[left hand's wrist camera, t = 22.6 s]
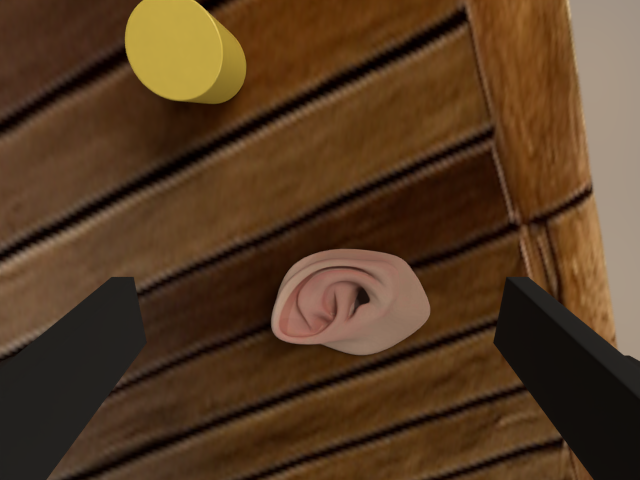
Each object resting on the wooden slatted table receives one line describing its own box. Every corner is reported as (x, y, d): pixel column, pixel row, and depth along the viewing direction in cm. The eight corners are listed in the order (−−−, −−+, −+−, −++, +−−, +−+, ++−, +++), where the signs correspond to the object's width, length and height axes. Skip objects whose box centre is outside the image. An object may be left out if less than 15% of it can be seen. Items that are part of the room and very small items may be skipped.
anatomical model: (467, 316, 29) (377, 408, 32) (450, 293, 33) (371, 377, 36) (335, 223, 26) (250, 333, 29) (333, 209, 30) (258, 308, 33)
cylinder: (251, 100, 27) (229, 96, 21) (181, 106, 27) (137, 104, 21) (240, 20, 26) (213, -13, 19) (165, 26, 26) (112, -4, 19)
